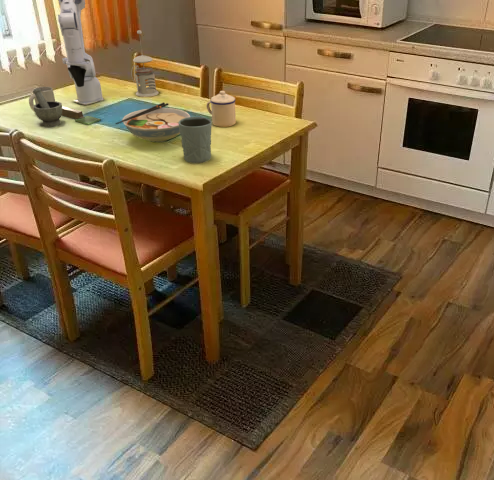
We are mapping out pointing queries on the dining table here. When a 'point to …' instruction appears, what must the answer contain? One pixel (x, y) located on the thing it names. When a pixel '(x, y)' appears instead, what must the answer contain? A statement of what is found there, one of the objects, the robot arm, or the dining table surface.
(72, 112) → the spatula
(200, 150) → the grey embossed tumbler
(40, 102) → the mortar and pestle
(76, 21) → the robot arm
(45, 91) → the cup
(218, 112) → the teacup with lid
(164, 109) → the ramen bowl
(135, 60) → the french press
